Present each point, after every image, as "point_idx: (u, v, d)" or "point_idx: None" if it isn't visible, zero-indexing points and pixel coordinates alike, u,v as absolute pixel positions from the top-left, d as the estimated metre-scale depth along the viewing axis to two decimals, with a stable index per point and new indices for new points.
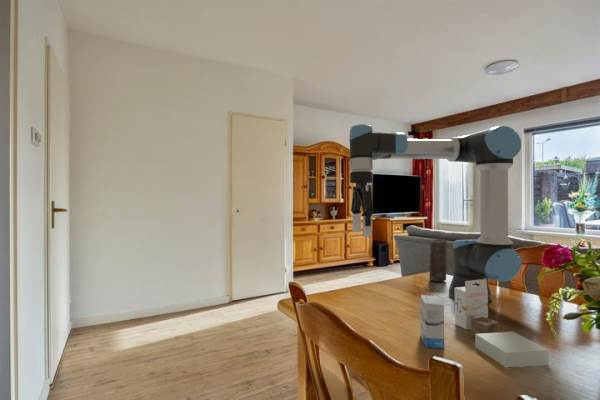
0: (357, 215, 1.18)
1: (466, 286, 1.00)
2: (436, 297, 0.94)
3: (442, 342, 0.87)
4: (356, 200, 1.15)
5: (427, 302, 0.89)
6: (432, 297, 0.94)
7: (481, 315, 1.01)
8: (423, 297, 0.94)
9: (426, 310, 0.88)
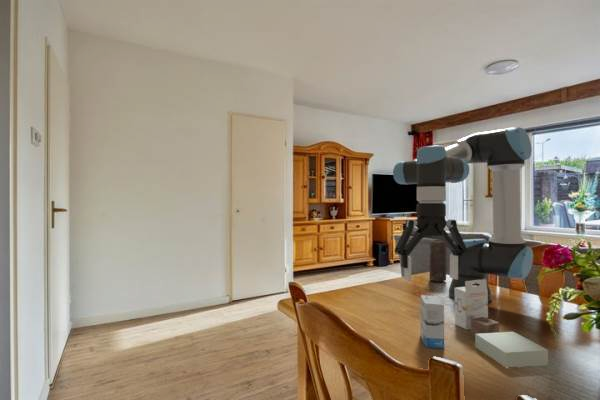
0: (453, 257, 0.92)
1: (466, 286, 1.00)
2: (436, 297, 0.94)
3: (442, 342, 0.87)
4: (440, 237, 0.93)
5: (427, 302, 0.89)
6: (432, 297, 0.94)
7: (481, 315, 1.01)
8: (423, 297, 0.94)
9: (426, 310, 0.88)
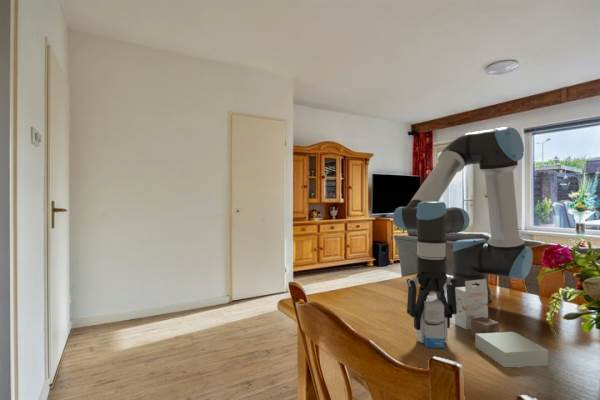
0: None
1: (466, 286, 1.00)
2: (436, 297, 0.94)
3: (442, 342, 0.87)
4: (436, 293, 0.93)
5: (428, 302, 0.89)
6: (432, 297, 0.94)
7: (481, 315, 1.01)
8: None
9: (426, 310, 0.88)
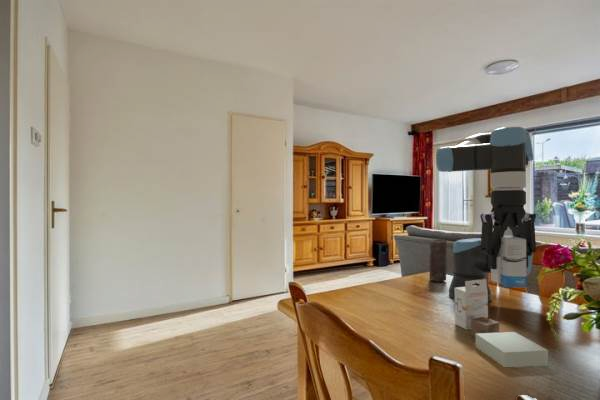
0: None
1: (466, 286, 1.00)
2: (511, 235, 0.85)
3: (524, 281, 0.79)
4: (512, 230, 0.84)
5: (506, 238, 0.80)
6: (507, 235, 0.85)
7: (481, 315, 1.01)
8: None
9: (506, 245, 0.80)
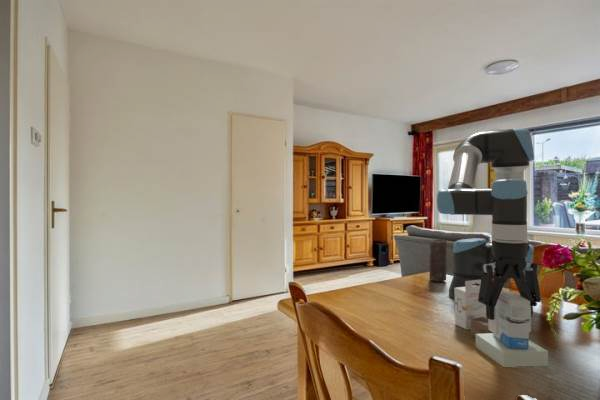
0: None
1: (466, 286, 1.00)
2: (513, 293, 0.85)
3: (526, 342, 0.79)
4: (515, 280, 0.84)
5: (511, 298, 0.80)
6: (509, 293, 0.85)
7: (481, 315, 1.01)
8: None
9: (510, 306, 0.79)
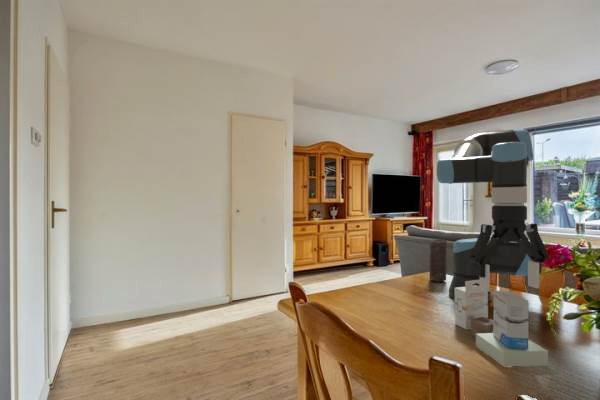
0: (532, 263, 0.84)
1: (466, 286, 1.00)
2: (513, 293, 0.85)
3: (526, 342, 0.79)
4: (518, 242, 0.85)
5: (509, 298, 0.80)
6: (508, 293, 0.85)
7: (481, 315, 1.01)
8: (499, 292, 0.85)
9: (508, 306, 0.79)
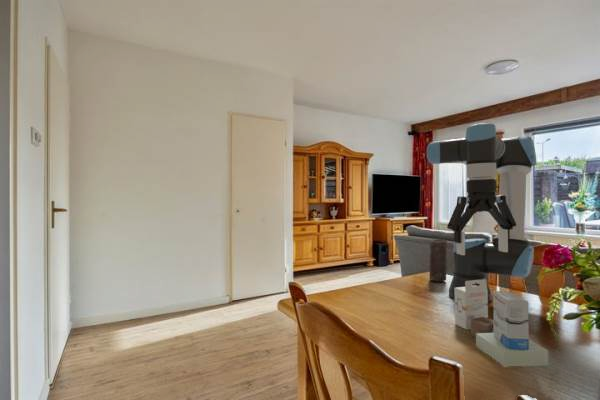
0: (502, 231, 0.96)
1: (466, 286, 1.00)
2: (512, 293, 0.85)
3: (526, 343, 0.79)
4: (490, 212, 0.96)
5: (509, 299, 0.80)
6: (508, 293, 0.85)
7: (481, 315, 1.01)
8: (498, 293, 0.85)
9: (508, 307, 0.79)
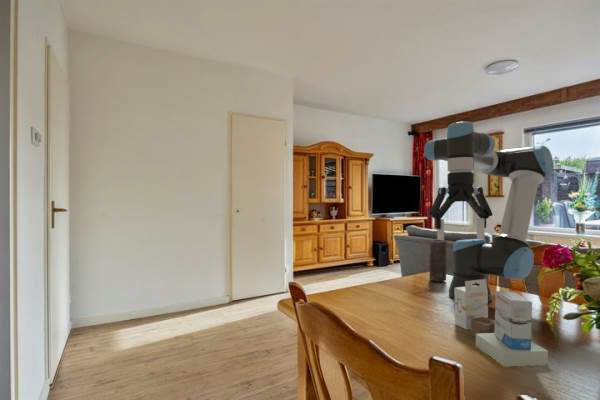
0: (479, 220, 1.05)
1: (466, 286, 1.00)
2: (515, 293, 0.86)
3: (529, 343, 0.79)
4: (468, 203, 1.06)
5: (513, 299, 0.80)
6: (510, 293, 0.85)
7: (481, 315, 1.01)
8: (501, 293, 0.85)
9: (512, 307, 0.79)
